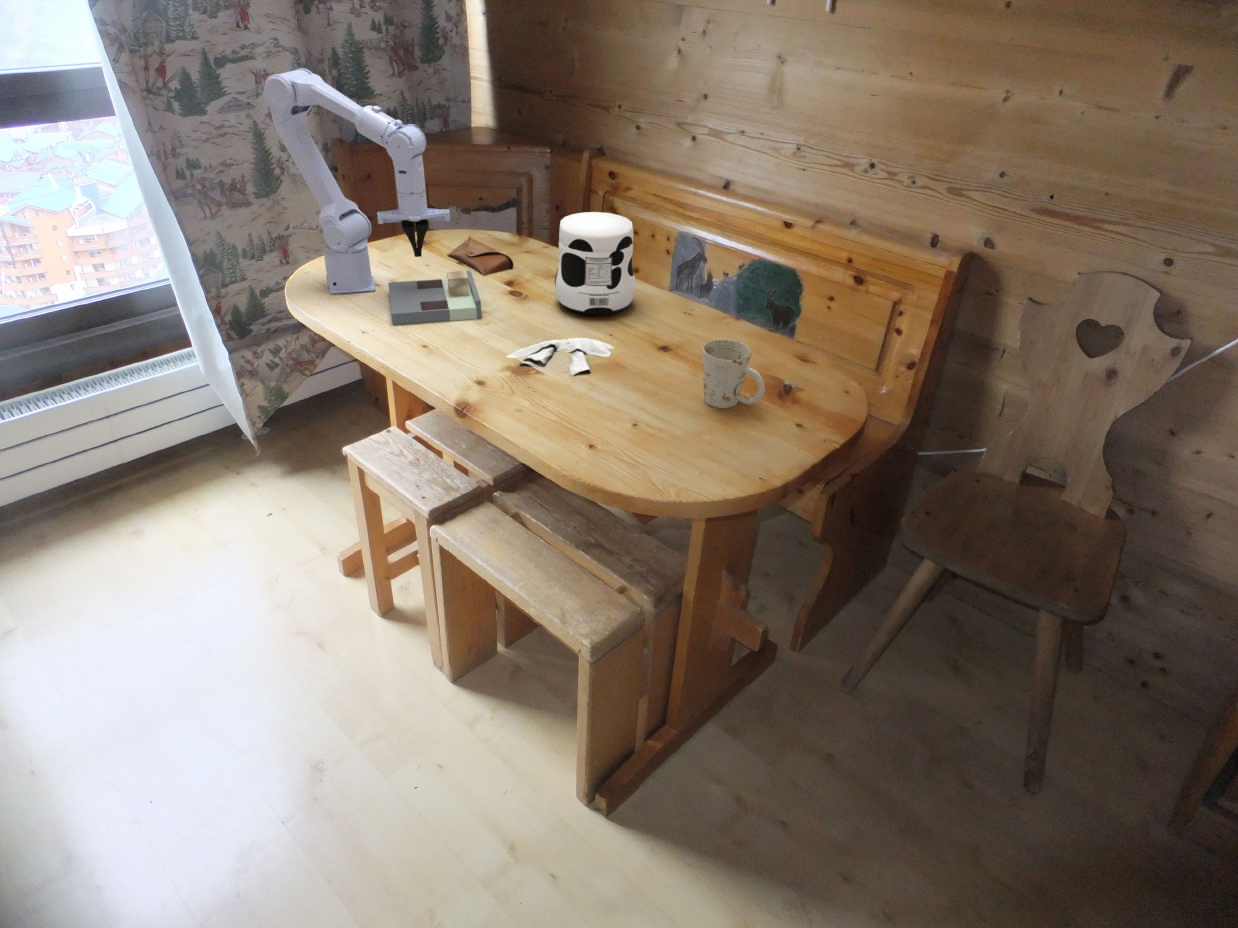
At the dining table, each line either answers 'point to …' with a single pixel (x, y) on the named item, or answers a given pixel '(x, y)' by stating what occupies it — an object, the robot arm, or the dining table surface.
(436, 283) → the trap board
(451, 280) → the beech block
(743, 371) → the mug
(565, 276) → the milk container
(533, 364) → the cloth
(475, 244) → the sunglasses case
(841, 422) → the dining table surface
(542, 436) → the dining table surface
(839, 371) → the dining table surface
